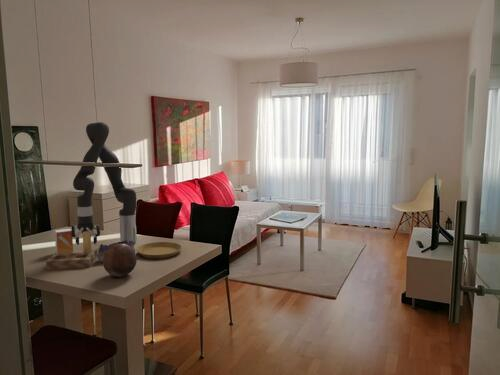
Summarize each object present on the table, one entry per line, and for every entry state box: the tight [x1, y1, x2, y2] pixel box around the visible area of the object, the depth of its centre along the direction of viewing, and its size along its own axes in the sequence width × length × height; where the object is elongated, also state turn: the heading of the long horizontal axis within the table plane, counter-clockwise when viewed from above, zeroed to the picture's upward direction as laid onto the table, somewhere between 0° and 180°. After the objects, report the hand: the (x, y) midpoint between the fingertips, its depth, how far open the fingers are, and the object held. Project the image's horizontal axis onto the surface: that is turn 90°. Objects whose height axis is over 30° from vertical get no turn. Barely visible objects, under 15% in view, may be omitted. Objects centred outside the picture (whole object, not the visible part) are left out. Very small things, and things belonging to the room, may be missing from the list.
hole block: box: [45, 251, 96, 270], centre depth 200 cm, size 20×12×4 cm, turn 100°
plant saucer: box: [136, 241, 182, 260], centre depth 219 cm, size 24×24×3 cm
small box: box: [54, 228, 74, 254], centre depth 218 cm, size 8×6×13 cm
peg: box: [82, 231, 93, 253], centre depth 212 cm, size 4×4×14 cm
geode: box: [96, 240, 136, 264], centre depth 210 cm, size 20×12×10 cm, turn 142°
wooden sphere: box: [102, 244, 138, 278], centre depth 183 cm, size 15×15×15 cm
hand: (86, 244), depth 212 cm, fingers open, 8 cm apart
